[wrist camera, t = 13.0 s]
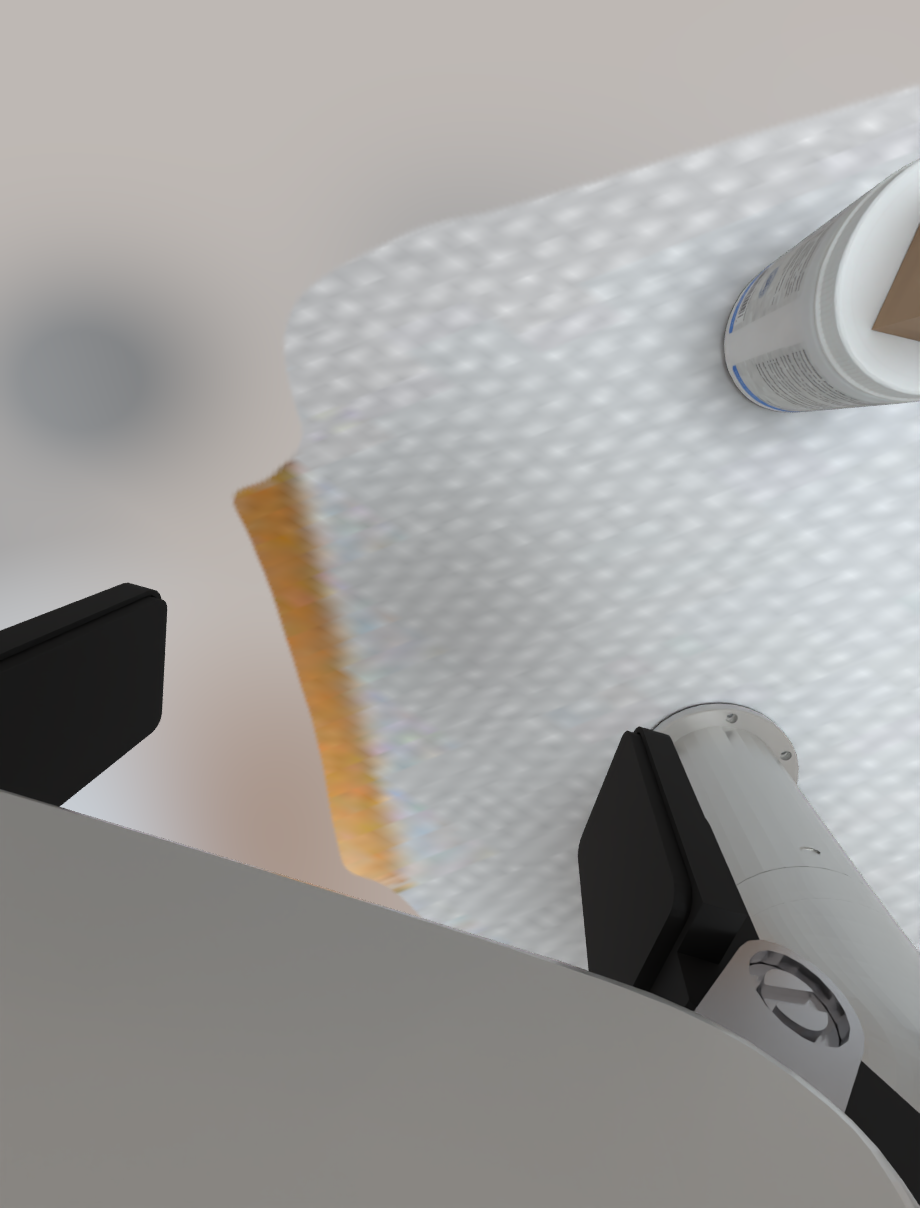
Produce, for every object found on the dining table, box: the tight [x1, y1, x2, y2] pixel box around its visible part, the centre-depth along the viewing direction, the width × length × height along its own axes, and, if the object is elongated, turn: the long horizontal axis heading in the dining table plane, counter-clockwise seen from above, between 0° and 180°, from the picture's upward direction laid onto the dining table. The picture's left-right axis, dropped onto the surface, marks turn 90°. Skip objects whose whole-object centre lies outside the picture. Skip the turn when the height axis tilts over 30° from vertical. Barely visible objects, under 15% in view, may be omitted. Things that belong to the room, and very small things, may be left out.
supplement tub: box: [724, 159, 920, 412], centre depth 28 cm, size 10×10×15 cm
